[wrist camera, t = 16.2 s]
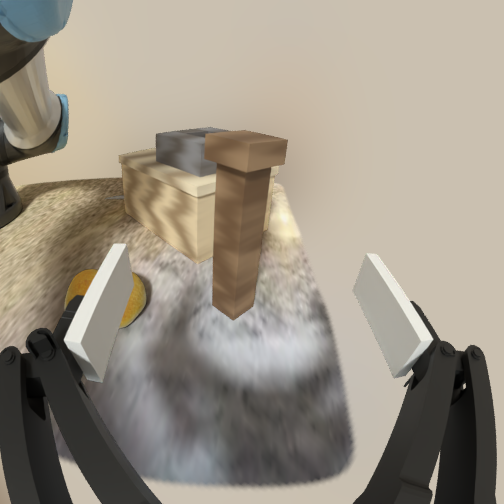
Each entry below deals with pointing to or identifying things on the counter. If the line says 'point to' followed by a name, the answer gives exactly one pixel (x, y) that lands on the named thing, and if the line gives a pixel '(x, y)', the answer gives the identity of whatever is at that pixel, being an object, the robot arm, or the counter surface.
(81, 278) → the bread roll
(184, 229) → the tan two-tone block
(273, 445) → the counter surface
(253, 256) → the brown t-shaped block
